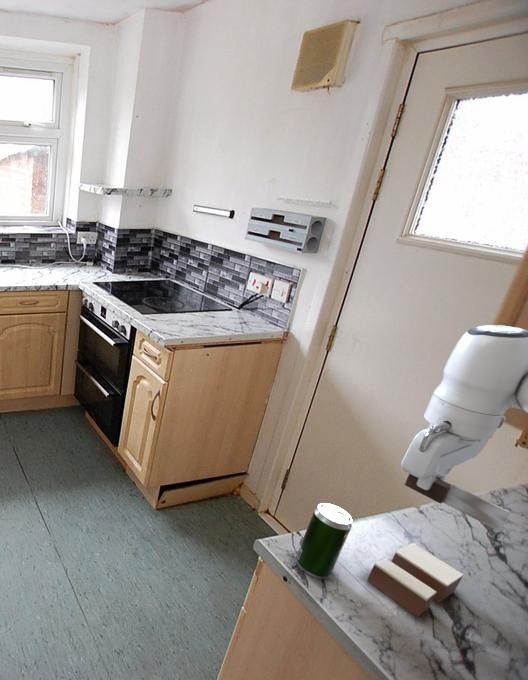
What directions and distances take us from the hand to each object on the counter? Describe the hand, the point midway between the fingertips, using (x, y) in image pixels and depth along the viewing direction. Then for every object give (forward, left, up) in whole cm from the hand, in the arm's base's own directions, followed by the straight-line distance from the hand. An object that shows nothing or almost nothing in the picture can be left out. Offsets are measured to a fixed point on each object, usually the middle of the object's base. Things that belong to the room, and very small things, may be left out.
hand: (428, 484), depth 82 cm
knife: (-4, 0, -2) cm, 4 cm away
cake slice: (-6, +13, -15) cm, 20 cm away
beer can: (+3, +21, -15) cm, 26 cm away
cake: (-6, +5, -15) cm, 17 cm away
